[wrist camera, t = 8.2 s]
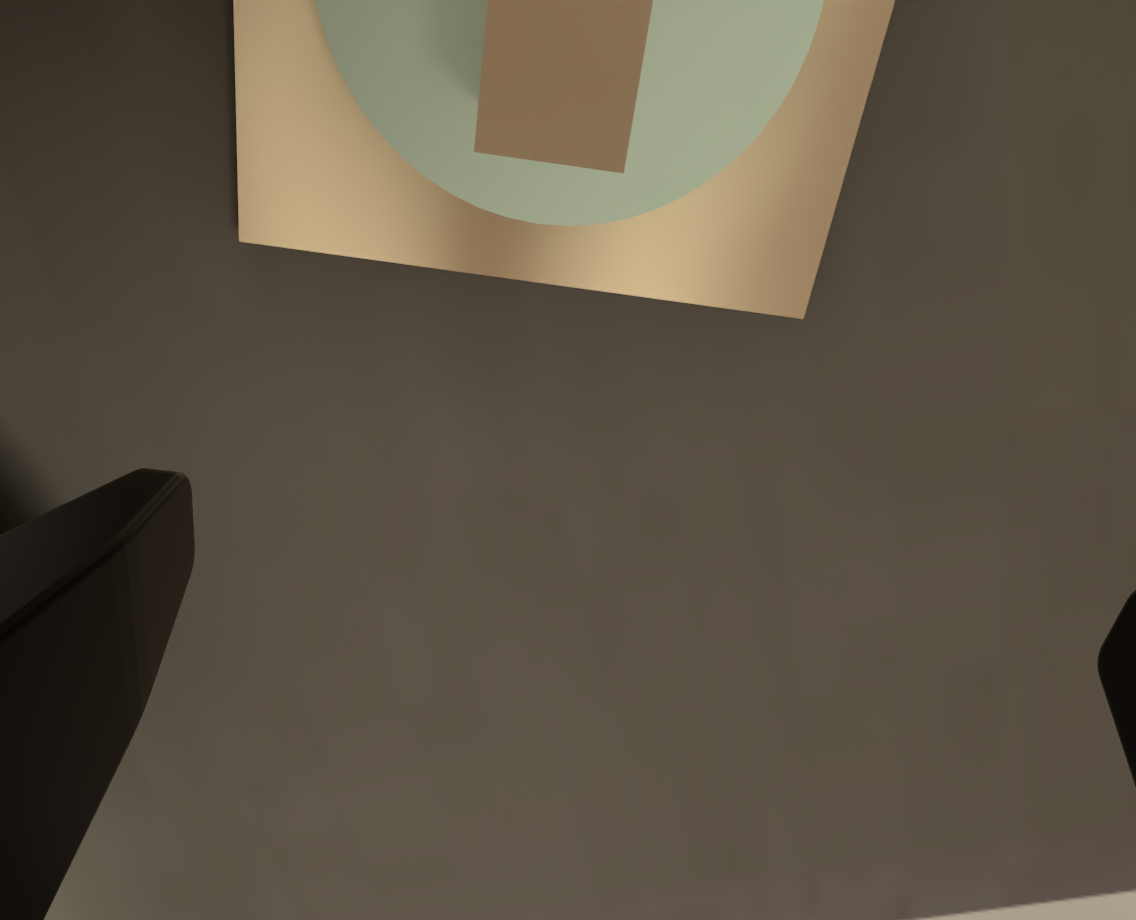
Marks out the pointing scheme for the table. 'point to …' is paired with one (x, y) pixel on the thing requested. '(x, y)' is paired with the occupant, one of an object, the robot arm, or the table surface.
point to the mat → (539, 251)
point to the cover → (569, 94)
